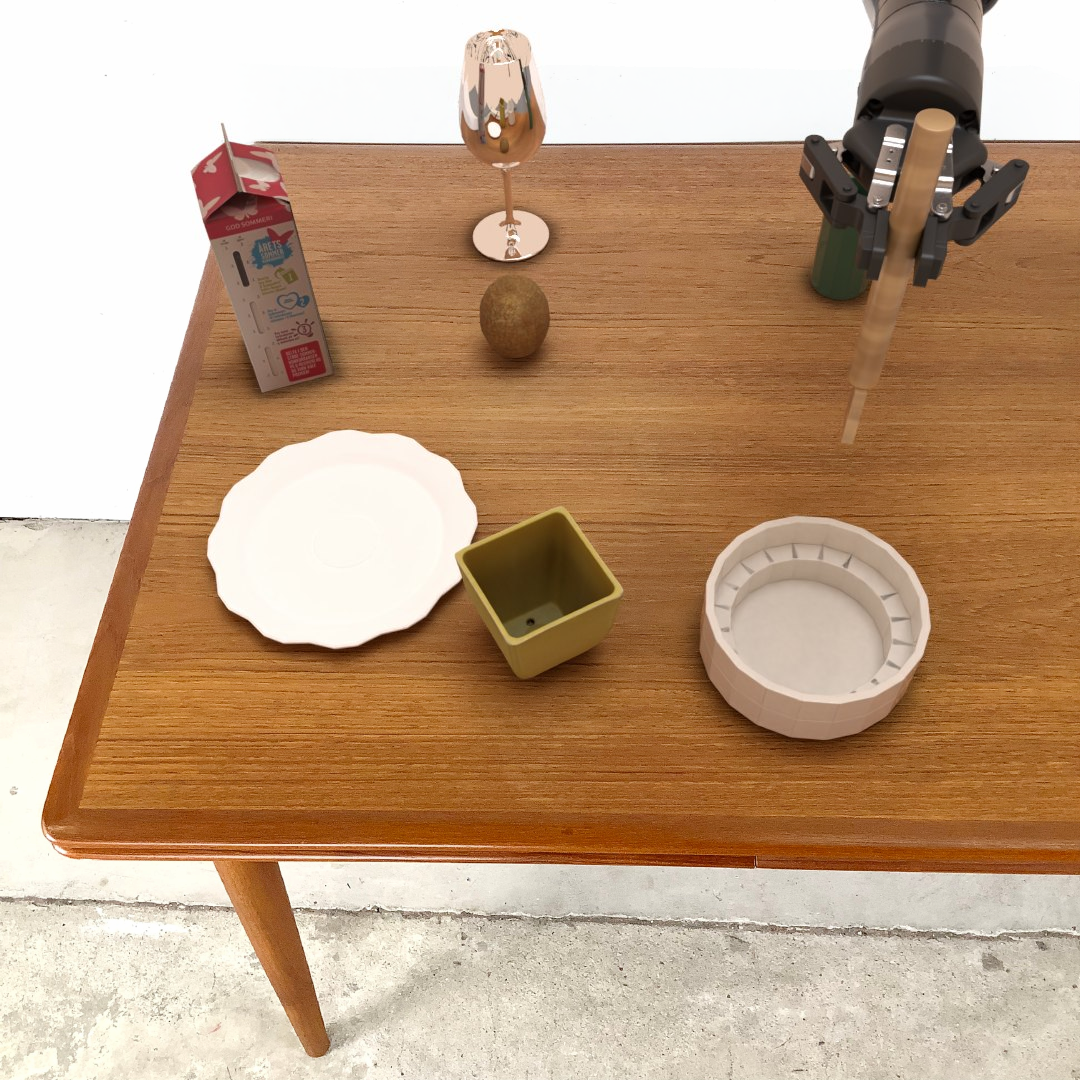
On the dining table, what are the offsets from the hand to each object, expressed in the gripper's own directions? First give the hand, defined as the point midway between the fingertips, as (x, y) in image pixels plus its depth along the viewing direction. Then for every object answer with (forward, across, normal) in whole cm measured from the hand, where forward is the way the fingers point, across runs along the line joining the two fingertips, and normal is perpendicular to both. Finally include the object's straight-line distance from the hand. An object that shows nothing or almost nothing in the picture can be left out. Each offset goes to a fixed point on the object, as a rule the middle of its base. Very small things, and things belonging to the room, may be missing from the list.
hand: (899, 271), depth 62 cm
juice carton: (-13, -48, +30) cm, 58 cm away
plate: (+6, -36, +30) cm, 47 cm away
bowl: (+7, 0, +30) cm, 31 cm away
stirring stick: (-3, 0, +16) cm, 17 cm away
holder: (-33, -2, +30) cm, 45 cm away
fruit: (-18, -29, +30) cm, 45 cm away
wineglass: (-33, -33, +30) cm, 56 cm away
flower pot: (+11, -19, +30) cm, 37 cm away
